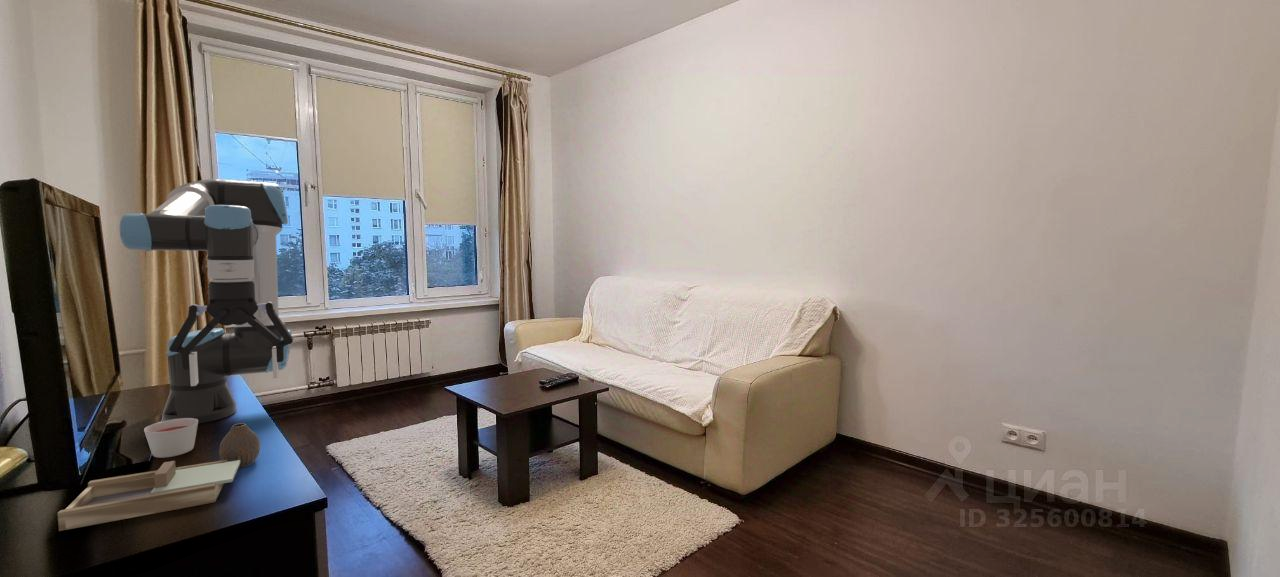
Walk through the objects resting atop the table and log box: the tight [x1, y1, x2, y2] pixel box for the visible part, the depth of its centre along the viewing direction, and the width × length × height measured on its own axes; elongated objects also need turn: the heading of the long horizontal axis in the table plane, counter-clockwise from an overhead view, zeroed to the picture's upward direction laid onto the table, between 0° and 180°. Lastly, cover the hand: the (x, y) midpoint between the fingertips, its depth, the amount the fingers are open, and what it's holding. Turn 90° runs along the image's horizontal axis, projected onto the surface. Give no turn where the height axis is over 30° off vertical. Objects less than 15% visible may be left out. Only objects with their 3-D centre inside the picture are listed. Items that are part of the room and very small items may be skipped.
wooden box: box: [57, 460, 227, 532], centre depth 95 cm, size 13×20×3 cm, turn 121°
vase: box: [218, 422, 261, 469], centre depth 110 cm, size 7×7×9 cm
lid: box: [151, 460, 240, 495], centre depth 98 cm, size 10×11×3 cm
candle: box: [143, 418, 199, 459], centre depth 115 cm, size 9×9×6 cm
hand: (236, 380), depth 108 cm, fingers open, 13 cm apart
